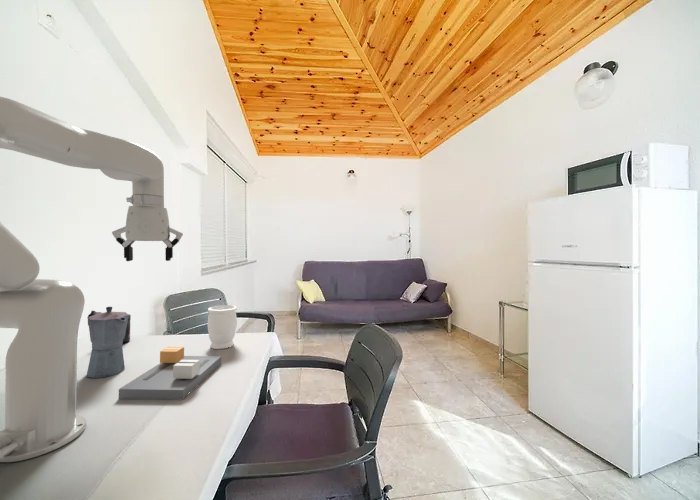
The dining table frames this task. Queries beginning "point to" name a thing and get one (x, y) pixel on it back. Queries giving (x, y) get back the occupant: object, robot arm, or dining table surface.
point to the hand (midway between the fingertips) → (149, 260)
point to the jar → (222, 326)
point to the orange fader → (171, 354)
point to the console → (168, 381)
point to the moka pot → (106, 342)
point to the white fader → (186, 369)
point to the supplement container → (127, 331)
